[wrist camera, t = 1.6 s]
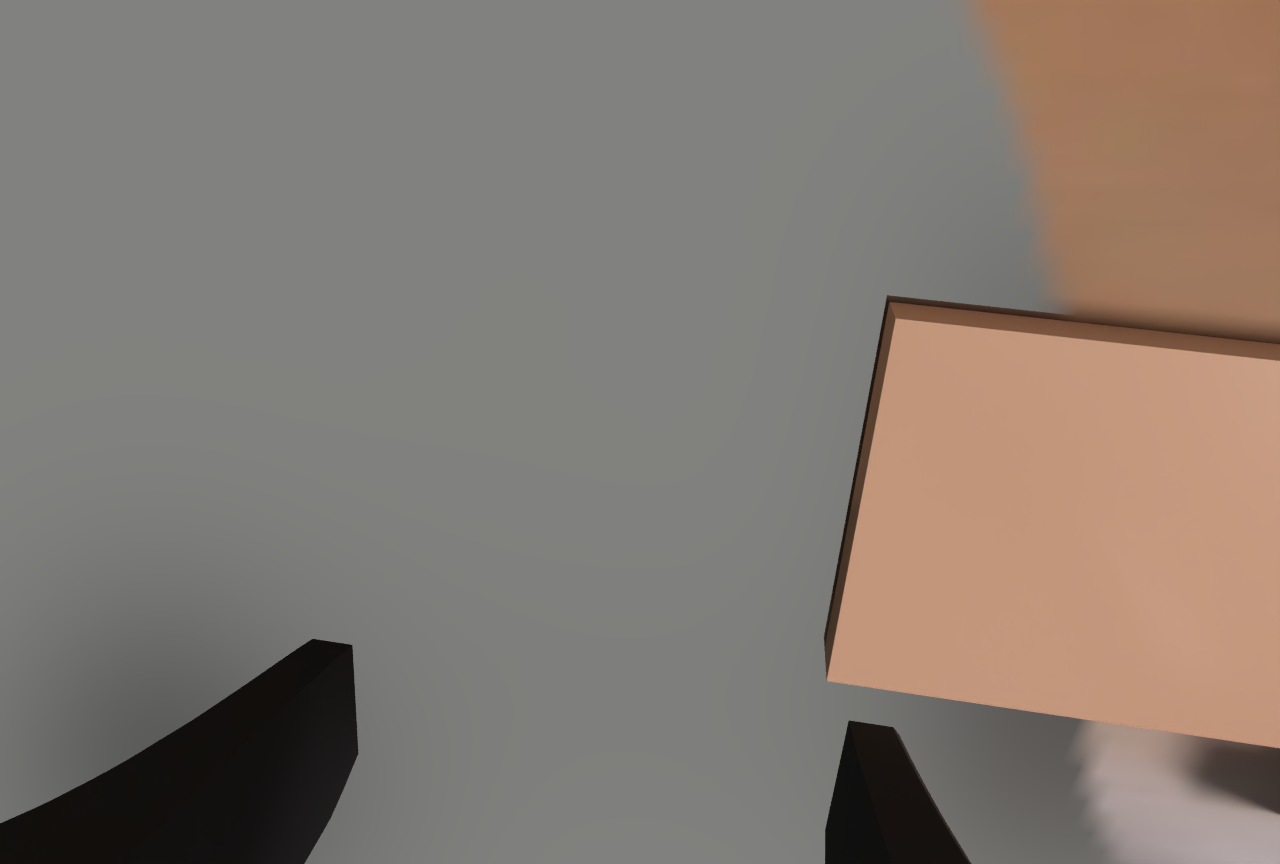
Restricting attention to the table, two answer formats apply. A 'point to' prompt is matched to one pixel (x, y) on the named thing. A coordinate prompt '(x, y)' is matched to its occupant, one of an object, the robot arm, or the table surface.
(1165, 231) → the table surface
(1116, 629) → the tile
